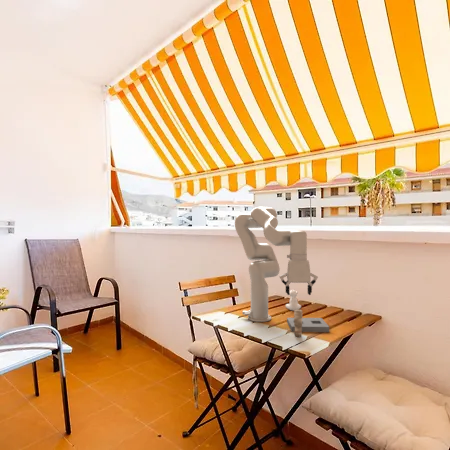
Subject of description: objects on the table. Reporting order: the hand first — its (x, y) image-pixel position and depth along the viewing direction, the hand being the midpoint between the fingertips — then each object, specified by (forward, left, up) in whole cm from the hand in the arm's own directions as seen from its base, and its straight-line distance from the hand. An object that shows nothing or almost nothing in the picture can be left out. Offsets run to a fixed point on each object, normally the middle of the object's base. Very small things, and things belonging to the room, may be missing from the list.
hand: (298, 294), depth 148 cm
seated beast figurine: (+6, +45, -20) cm, 50 cm away
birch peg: (0, 0, -20) cm, 20 cm away
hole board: (+7, +13, -20) cm, 25 cm away
